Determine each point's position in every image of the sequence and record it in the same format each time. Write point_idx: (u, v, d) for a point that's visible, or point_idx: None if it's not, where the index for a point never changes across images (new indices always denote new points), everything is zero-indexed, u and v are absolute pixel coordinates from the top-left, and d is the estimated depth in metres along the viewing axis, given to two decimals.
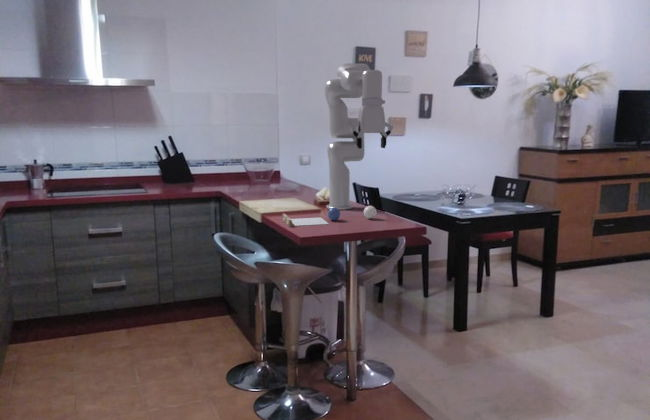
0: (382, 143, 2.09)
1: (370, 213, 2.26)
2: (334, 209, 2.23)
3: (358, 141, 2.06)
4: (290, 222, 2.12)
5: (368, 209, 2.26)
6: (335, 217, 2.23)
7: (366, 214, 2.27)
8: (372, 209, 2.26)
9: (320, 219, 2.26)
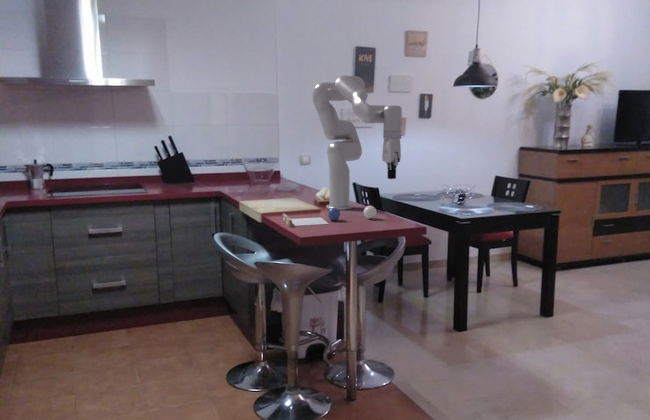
0: None
1: (370, 213, 2.26)
2: (334, 209, 2.23)
3: None
4: (290, 222, 2.12)
5: (368, 209, 2.26)
6: (335, 217, 2.23)
7: (366, 214, 2.27)
8: (372, 209, 2.26)
9: (320, 219, 2.26)
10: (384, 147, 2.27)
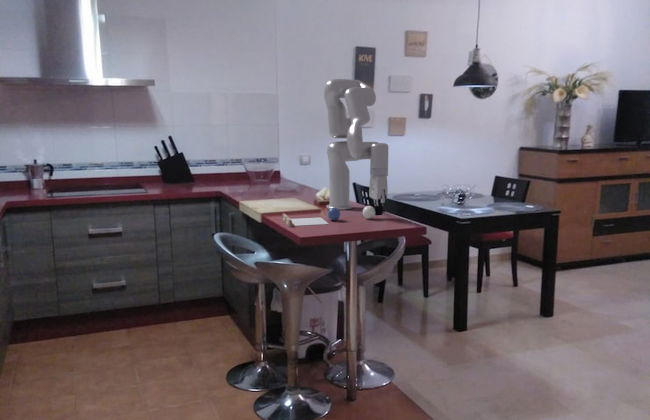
0: None
1: (369, 213, 2.26)
2: (334, 209, 2.23)
3: None
4: (290, 222, 2.12)
5: (367, 209, 2.26)
6: (335, 217, 2.23)
7: (365, 214, 2.27)
8: (371, 209, 2.26)
9: (320, 219, 2.26)
10: (371, 184, 2.28)
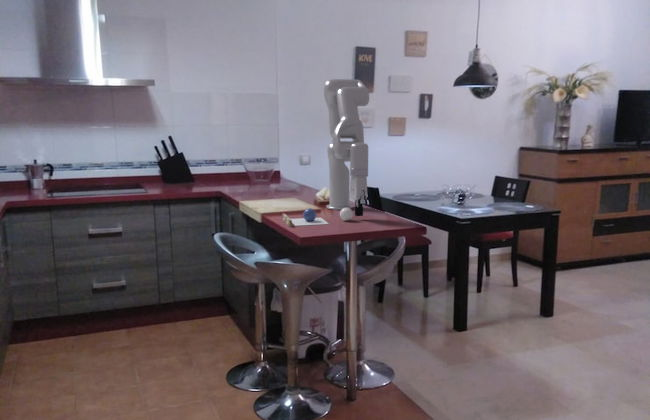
0: None
1: (350, 215, 2.22)
2: (313, 219, 2.22)
3: None
4: (290, 222, 2.12)
5: None
6: (309, 214, 2.20)
7: (351, 211, 2.23)
8: (349, 219, 2.23)
9: (320, 219, 2.26)
10: (351, 184, 2.26)
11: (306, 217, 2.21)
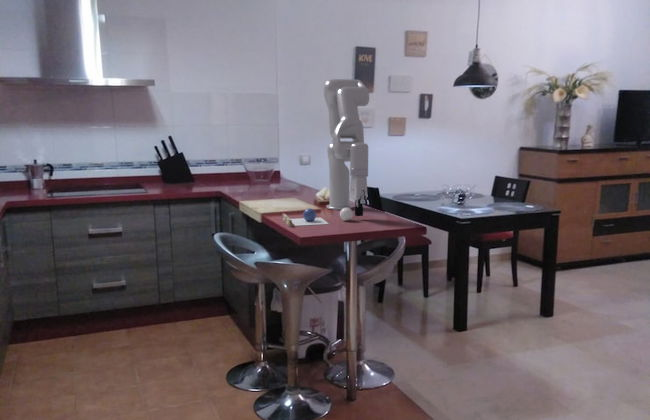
0: None
1: (350, 215, 2.22)
2: (313, 219, 2.22)
3: None
4: (290, 222, 2.12)
5: None
6: (309, 214, 2.20)
7: (351, 211, 2.23)
8: (349, 219, 2.23)
9: (320, 219, 2.26)
10: (351, 184, 2.26)
11: (306, 217, 2.21)
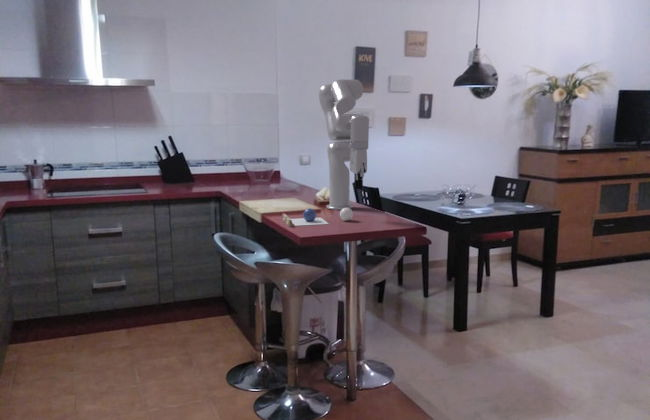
0: None
1: (350, 215, 2.22)
2: (313, 219, 2.22)
3: (360, 183, 2.25)
4: (290, 222, 2.12)
5: None
6: (309, 214, 2.20)
7: (351, 211, 2.23)
8: (349, 219, 2.23)
9: (320, 219, 2.26)
10: (351, 157, 2.25)
11: (306, 217, 2.21)
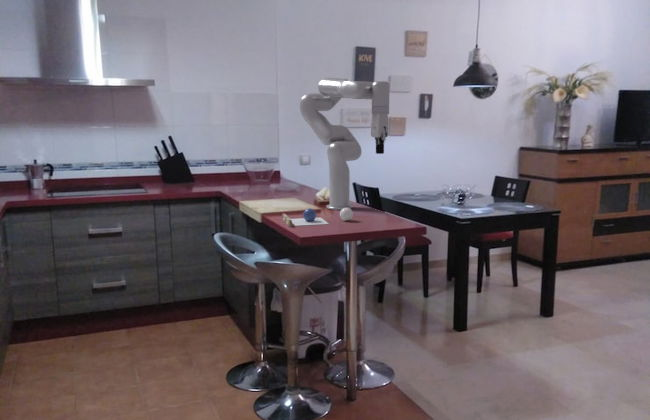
0: None
1: (350, 215, 2.22)
2: (313, 219, 2.22)
3: None
4: (290, 222, 2.12)
5: None
6: (309, 214, 2.20)
7: (351, 211, 2.23)
8: (349, 219, 2.23)
9: (320, 219, 2.26)
10: (372, 122, 2.32)
11: (306, 217, 2.21)
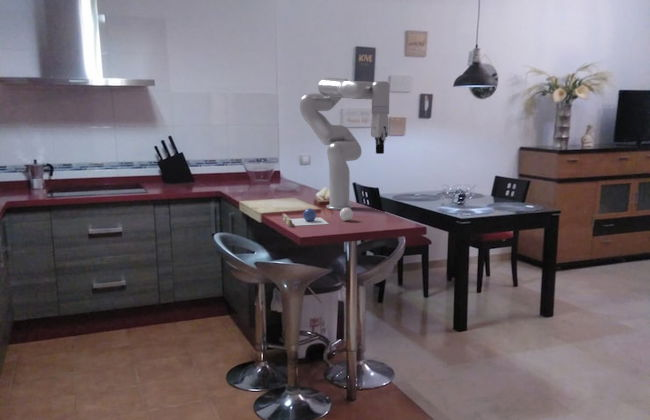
0: None
1: (350, 215, 2.22)
2: (313, 219, 2.22)
3: None
4: (290, 222, 2.12)
5: None
6: (309, 214, 2.20)
7: (351, 211, 2.23)
8: (349, 219, 2.23)
9: (320, 219, 2.26)
10: (372, 122, 2.32)
11: (306, 217, 2.21)
